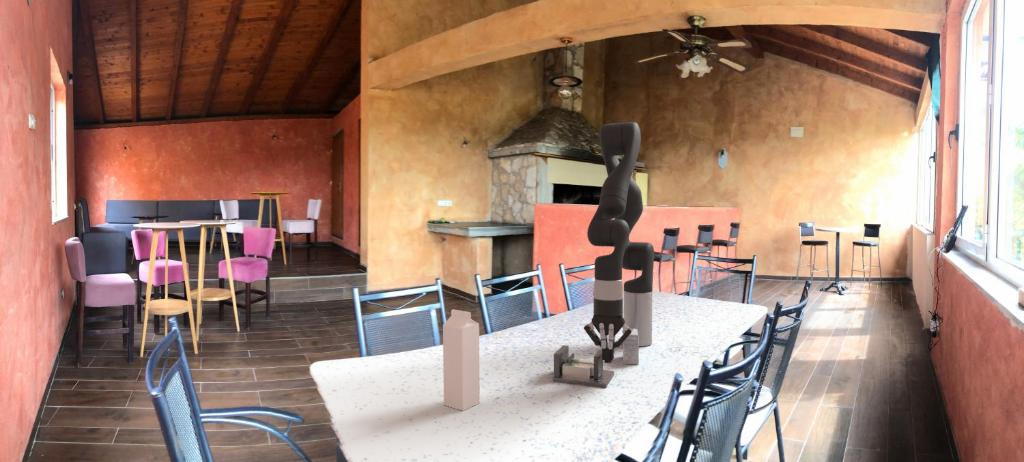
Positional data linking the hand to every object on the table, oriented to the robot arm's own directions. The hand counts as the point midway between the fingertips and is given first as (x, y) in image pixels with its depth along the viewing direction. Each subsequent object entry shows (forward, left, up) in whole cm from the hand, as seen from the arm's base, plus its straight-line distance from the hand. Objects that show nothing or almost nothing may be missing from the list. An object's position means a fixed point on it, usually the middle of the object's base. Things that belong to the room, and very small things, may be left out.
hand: (607, 362), depth 140 cm
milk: (+28, -28, -5) cm, 40 cm away
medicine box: (-20, +3, -5) cm, 21 cm away
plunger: (0, -6, -4) cm, 7 cm away
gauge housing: (0, -6, -5) cm, 8 cm away
